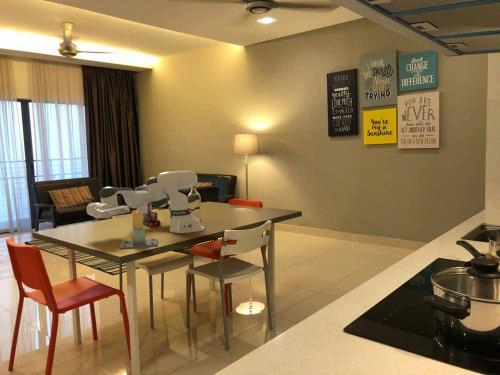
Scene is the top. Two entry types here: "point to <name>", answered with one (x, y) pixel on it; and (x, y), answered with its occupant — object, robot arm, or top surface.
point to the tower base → (130, 244)
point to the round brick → (137, 220)
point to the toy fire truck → (152, 219)
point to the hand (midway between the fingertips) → (121, 212)
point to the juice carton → (145, 208)
